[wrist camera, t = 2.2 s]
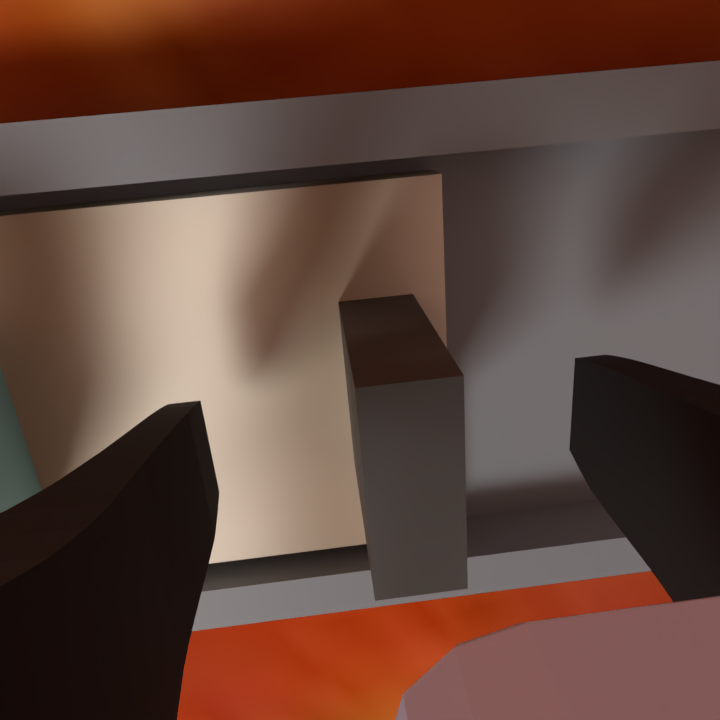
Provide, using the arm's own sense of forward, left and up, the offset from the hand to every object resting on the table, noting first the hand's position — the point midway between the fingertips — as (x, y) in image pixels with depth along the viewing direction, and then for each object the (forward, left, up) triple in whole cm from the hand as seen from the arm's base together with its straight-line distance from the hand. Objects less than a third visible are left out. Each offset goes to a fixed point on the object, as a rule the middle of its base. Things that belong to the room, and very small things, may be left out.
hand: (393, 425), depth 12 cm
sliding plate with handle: (+7, 0, -3) cm, 8 cm away
